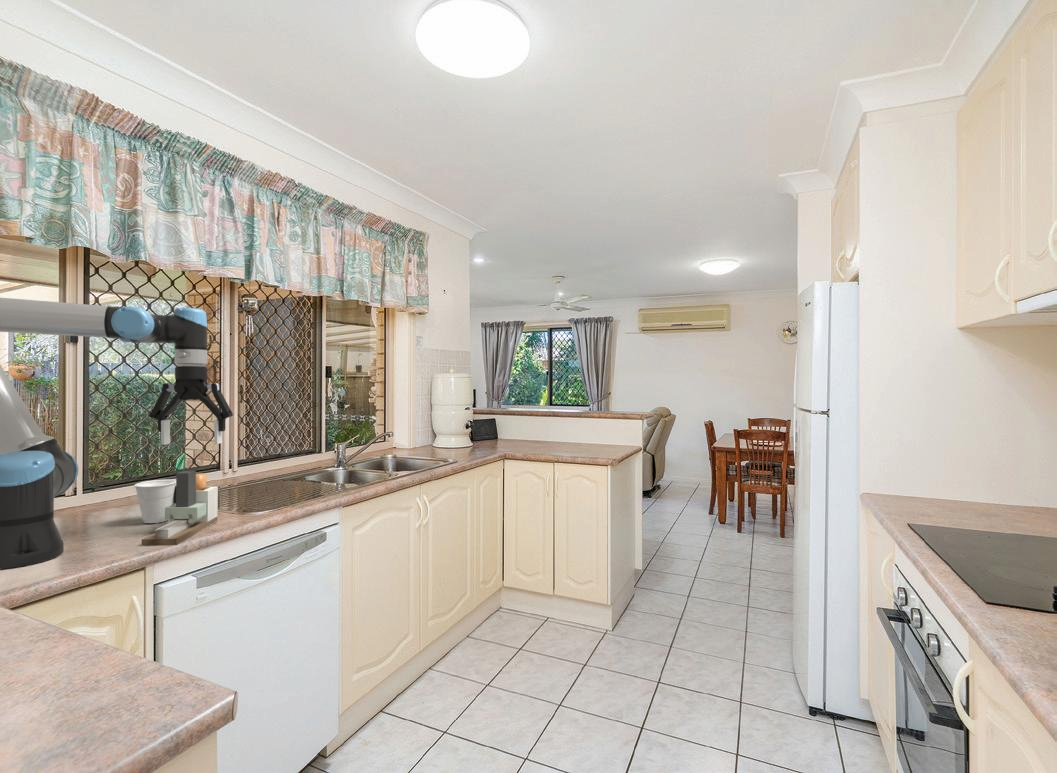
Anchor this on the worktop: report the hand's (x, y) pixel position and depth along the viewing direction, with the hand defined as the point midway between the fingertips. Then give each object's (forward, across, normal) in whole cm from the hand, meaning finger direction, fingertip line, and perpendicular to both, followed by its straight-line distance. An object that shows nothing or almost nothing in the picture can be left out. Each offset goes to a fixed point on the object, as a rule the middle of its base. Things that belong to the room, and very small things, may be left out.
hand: (192, 444), depth 145 cm
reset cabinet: (+22, -1, +4) cm, 22 cm away
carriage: (+20, -1, -2) cm, 21 cm away
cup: (+23, -14, +8) cm, 28 cm away
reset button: (+14, -1, +4) cm, 15 cm away
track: (+23, -1, -4) cm, 23 cm away
